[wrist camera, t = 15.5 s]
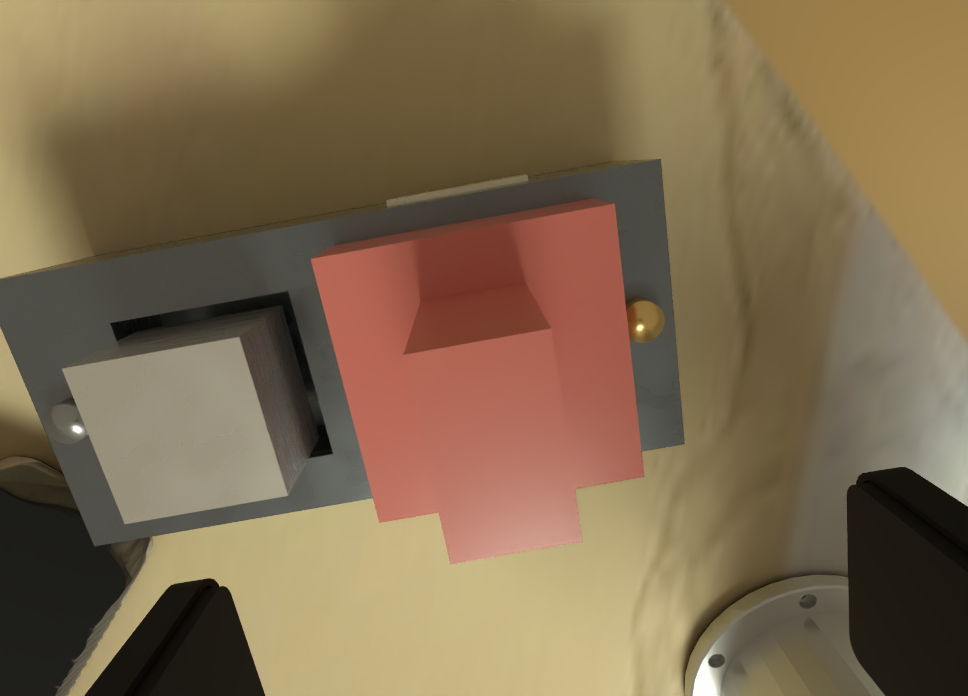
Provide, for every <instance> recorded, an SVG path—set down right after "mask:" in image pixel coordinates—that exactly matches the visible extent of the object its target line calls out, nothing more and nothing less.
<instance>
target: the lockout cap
mask: <svg viewBox="0 0 968 696" xmlns="http://www.w3.org/2000/svg"><path fill="white" fill-rule="evenodd" d="M311 263H312V266H313V270H314V274H315V278H316V282H317V286H318V289H319V293H320V297H321V301H322V305H323V309H324V312H325V316H326V320H327V324H328V328H329V331H330V335H331V339H332V343H333V347H334V351H335V354H336V358H337V362H338V366H339V370H340V374H341V377H342V381H343V385H344V389H345V393H346V397H347V400H348V404H349V408H350V412H351V416H352V420H353V423H354V427H355V431H356V435H357V439H358V442H359V446H360V450H361V454H362V458H363V462H364V465H365V469H366V473H367V477H368V481H369V485H370V488H371V492H372V496H373V500H374V504H375V508H376V511H377V515H378V519H379V523H380V522H386V521H392V520H398V519H404V518H409V517H415V516H421V515H427V514H432V513H438V512H439V515H440V520H441V524H442V529H443V533H444V537H445V542H446V546H447V551H448V555H449V560H450V564H454V563H460V562H466V561H472V560H478V559H484V558H489V557H495V556H501V555H507V554H513V553H519V552H524V551H530V550H536V549H542V548H548V547H554V546H559V545H565V544H571V543H577V542H583V540H582V533H581V527H580V520H579V513H578V506H577V499H576V493H575V489H577V488H583V487H588V486H594V485H600V484H606V483H612V482H617V481H623V480H629V479H635V478H640V477H644V469H643V460H642V451H641V442H640V432H639V423H638V414H637V405H636V395H635V386H634V377H633V368H632V358H631V349H630V340H629V331H628V321H627V312H626V303H625V294H624V284H623V275H622V266H621V257H620V247H619V238H618V229H617V220H616V210H615V204H614V203H609V202H605V201H601V200H596V199H586V200H581V201H575V202H570V203H564V204H559V205H553V206H548V207H542V208H537V209H531V210H526V211H520V212H515V213H509V214H504V215H498V216H493V217H488V218H482V219H477V220H471V221H466V222H460V223H455V224H449V225H444V226H438V227H433V228H427V229H422V230H416V231H411V232H405V233H400V234H394V235H389V236H383V237H378V238H372V239H367V240H361V241H356V242H350V243H345V244H339V245H334V246H332V247H330V248H328V249H327V250H325V251H323V252H322V253H320V254H318V255H317V256H315V257H313V258H311Z"/></svg>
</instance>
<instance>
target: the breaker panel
mask: <svg viewBox="0 0 968 696" xmlns="http://www.w3.org/2000/svg"><path fill="white" fill-rule="evenodd" d="M586 199H596V200H601V201H605V202H609V203H614V204H615V210H616V220H617V229H618V238H619V247H620V257H621V266H622V275H623V284H624V294H625V303H626V312H627V321H628V331H629V340H630V349H631V358H632V368H633V377H634V386H635V395H636V405H637V414H638V423H639V432H640V442H641V451H647V450H653V449H659V448H664V447H670V446H676V445H682V444H685V443H684V431H683V419H682V407H681V395H680V383H679V371H678V359H677V347H676V335H675V324H674V312H673V300H672V288H671V276H670V264H669V252H668V240H667V228H666V216H665V204H664V192H663V180H662V168H661V159H650V160H631V161H614V162H608V163H603V164H597V165H592V166H586V167H581V168H575V169H570V170H564V171H559V172H553V173H548V174H542V175H537V176H532V177H528V175H524V174H521V175H516V176H510V177H505V178H499V179H494V180H488V181H483V182H477V183H472V184H466V185H461V186H455V187H450V188H445V189H439V190H434V191H428V192H423V193H417V194H412V195H406V196H401V197H395V198H391V199H389V200H386V203H384V204H378V205H373V206H367V207H362V208H356V209H351V210H345V211H340V212H334V213H329V214H323V215H318V216H312V217H307V218H301V219H296V220H291V221H285V222H280V223H274V224H269V225H263V226H258V227H252V228H247V229H241V230H236V231H230V232H225V233H219V234H214V235H208V236H203V237H197V238H192V239H186V240H181V241H175V242H170V243H165V244H159V245H154V246H148V247H143V248H137V249H132V250H126V251H121V252H115V253H110V254H104V255H99V256H93V257H89V258H85V259H81V260H76V261H72V262H68V263H64V264H59V265H55V266H51V267H47V268H42V269H38V270H34V271H30V272H25V273H21V274H17V275H13V276H8V277H4V278H0V327H1V329H2V332H3V334H4V336H5V339H6V341H7V343H8V346H9V348H10V350H11V353H12V355H13V357H14V360H15V362H16V364H17V367H18V369H19V371H20V374H21V376H22V378H23V381H24V383H25V385H26V388H27V390H28V392H29V395H30V397H31V399H32V402H33V404H34V406H35V409H36V411H37V413H38V416H39V418H40V420H41V423H42V425H43V427H44V430H45V432H46V434H47V437H48V439H49V441H50V444H51V446H52V448H53V451H54V453H55V455H56V458H57V460H58V462H59V465H60V467H61V469H62V472H63V474H64V476H65V479H66V481H67V483H68V486H69V488H70V490H71V493H72V495H73V497H74V500H75V502H76V504H77V507H78V509H79V511H80V514H81V516H82V518H83V521H84V523H85V525H86V528H87V530H88V532H89V535H90V537H91V539H92V542H93V544H94V546H99V545H105V544H111V543H117V542H122V541H128V540H134V539H140V538H146V537H151V536H157V535H163V534H169V533H174V532H180V531H186V530H192V529H197V528H203V527H209V526H215V525H221V524H226V523H232V522H238V521H244V520H249V519H255V518H261V517H267V516H272V515H278V514H284V513H290V512H295V511H301V510H307V509H313V508H319V507H324V506H330V505H336V504H342V503H347V502H353V501H359V500H365V499H370V498H373V496H372V492H371V488H370V485H369V481H368V477H367V473H366V469H365V465H364V462H363V458H362V454H361V450H360V446H359V442H358V439H357V435H356V431H355V427H354V423H353V420H352V416H351V412H350V408H349V404H348V400H347V397H346V393H345V389H344V385H343V381H342V377H341V374H340V370H339V366H338V362H337V358H336V354H335V351H334V347H333V343H332V339H331V335H330V331H329V328H328V324H327V320H326V316H325V312H324V309H323V305H322V301H321V297H320V293H319V289H318V286H317V282H316V278H315V274H314V270H313V266H312V263H311V258H313V257H315V256H317V255H318V254H320V253H322V252H323V251H325V250H327V249H328V248H330V247H332V246H334V245H339V244H345V243H350V242H356V241H361V240H367V239H372V238H378V237H383V236H389V235H394V234H400V233H405V232H411V231H416V230H422V229H427V228H433V227H438V226H444V225H449V224H455V223H460V222H466V221H471V220H477V219H482V218H488V217H493V216H498V215H504V214H509V213H515V212H520V211H526V210H531V209H537V208H542V207H548V206H553V205H559V204H564V203H570V202H575V201H581V200H586Z"/></svg>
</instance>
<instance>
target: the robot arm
mask: <svg viewBox="0 0 968 696" xmlns="http://www.w3.org/2000/svg"><path fill="white" fill-rule="evenodd" d="M847 533H848V577H843V576H839V575H809V576H801V577H793V578H789V579H786V580H782V581H779V582H776V583H772V584H769V585H767V586H765V587H762V588H760V589H758V590H756V591H754V592H752V593H749V594H747V595H746V596H744V597H743V598H741V599H740V600H738V601H737V602H735V603H734V604H732V605H731V606H729V607H728V608H727V609H726V610H725V611H724V612H722V613H721V614H720V615H719V616H718V617H717V618H716V619H715V620H714V621H713V622H712V623H711V624H710V625H709V627H708V628H707V629H706V631H705V632H704V633H703V634H702V636H701V637H700V638H699V640H698V642H697V644H696V646H695V648H694V650H693V652H692V654H691V656H690V659H689V663H688V666H687V670H686V674H685V696H968V507H967V506H966V505H964V504H963V503H961V502H960V501H958V500H957V499H955V498H954V497H952V496H950V495H949V494H947V493H946V492H944V491H943V490H941V489H940V488H938V487H937V486H935V485H934V484H932V483H931V482H929V481H928V480H926V479H924V478H923V477H921V476H920V475H918V474H917V473H915V472H914V471H912V470H910V469H908V468H906V467H898V468H892V469H885V470H879V471H873V472H867V473H862V474H861V475H859V477H858V479H857V481H856V485H852V486H850V487H849V489H848V491H847ZM85 696H265V694H264V691H263V688H262V685H261V682H260V679H259V676H258V673H257V670H256V667H255V664H254V661H253V658H252V655H251V652H250V649H249V646H248V643H247V640H246V637H245V634H244V631H243V628H242V625H241V622H240V619H239V616H238V613H237V610H236V607H235V604H234V601H233V599H232V596H231V593H230V591H229V590H228V588H227V587H224V586H221V587H219V585H218V583H217V582H216V581H215V580H214V579H210V578H209V579H203V580H196V581H190V582H184V583H178V584H174V585H171V586H170V587H169V588H168V589H167V590H166V591H165V592H164V593H163V595H162V596H161V597H160V598H159V600H158V601H157V602H156V604H155V605H154V606H153V608H152V609H151V610H150V611H149V613H148V614H147V615H146V617H145V618H144V619H143V620H142V622H141V623H140V624H139V626H138V627H137V628H136V630H135V631H134V632H133V633H132V635H131V636H130V637H129V639H128V640H127V641H126V642H125V644H124V645H123V646H122V648H121V649H120V650H119V652H118V653H117V654H116V655H115V657H114V658H113V659H112V661H111V662H110V663H109V664H108V666H107V667H106V668H105V670H104V671H103V672H102V674H101V675H100V676H99V677H98V679H97V680H96V681H95V683H94V684H93V685H92V686H91V688H90V689H89V690H88V692H87V693H86V694H85Z"/></svg>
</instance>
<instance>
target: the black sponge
mask: <svg viewBox="0 0 968 696" xmlns="http://www.w3.org/2000/svg"><path fill="white" fill-rule="evenodd" d="M152 548H153V538H152V536H151V537H146V538H140V539H134V540H128V541H122V542H117V543H111V544H105V545H99V546H94V544H93V542H92V539H91V537H90V535H89V532H88V530H87V528H86V525H85V523H84V521H83V518H82V516H81V514H80V511H79V509H78V507H77V504H76V502H75V500H74V497H73V495H72V493H71V490H70V488H69V486H68V483H67V481H66V479H65V476H64V475H63V474H61V473H60V472H58V471H56V470H54V469H53V468H51V467H49V466H47V465H45V464H44V463H42V462H40V461H38V460H35V459H32V458H28V457H19V456H17V457H8V458H5V459H2V460H0V696H68V694H69V693H70V691H71V690H72V688H73V686H74V684H75V683H76V680H77V678H78V677H79V676H80V674H81V671H82V669H83V668H84V667H85V666H86V664H87V661H88V660H89V658H90V656H91V654H92V652H93V651H94V650H95V648H96V647H97V646H98V643H99V641H100V640H101V638H102V637H103V635H104V633H105V632H106V630H107V629H108V627H109V625H110V622H111V621H112V620H113V618H114V616H115V614H116V612H117V611H118V610H119V608H120V606H121V604H122V602H123V601H124V599H125V598H126V596H127V594H128V591H129V589H130V587H131V586H132V584H133V583H134V581H135V579H136V577H137V576H138V574H139V572H140V571H141V569H142V567H143V566H144V564H145V562H146V561H147V559H148V557H149V556H150V553H151V550H152Z"/></svg>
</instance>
